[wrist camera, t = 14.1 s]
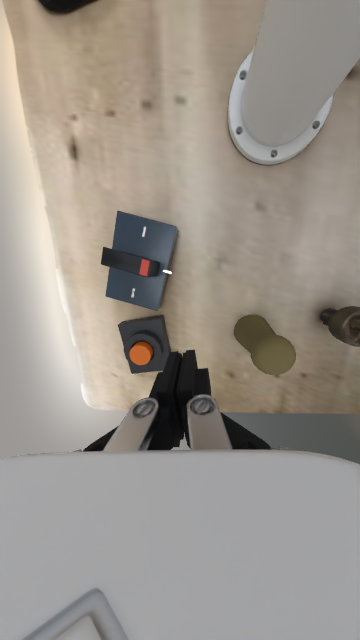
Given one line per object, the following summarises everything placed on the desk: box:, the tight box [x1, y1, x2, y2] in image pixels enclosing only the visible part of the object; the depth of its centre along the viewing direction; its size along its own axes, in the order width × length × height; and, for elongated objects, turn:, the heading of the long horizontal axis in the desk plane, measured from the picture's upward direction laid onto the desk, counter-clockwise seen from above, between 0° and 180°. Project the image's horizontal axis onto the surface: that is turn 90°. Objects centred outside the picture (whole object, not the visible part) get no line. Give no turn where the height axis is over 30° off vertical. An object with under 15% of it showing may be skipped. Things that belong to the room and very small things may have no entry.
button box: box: [118, 315, 171, 374], centre depth 32 cm, size 10×8×4 cm
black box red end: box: [101, 247, 160, 278], centre depth 25 cm, size 6×2×5 cm, turn 75°
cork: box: [234, 315, 296, 375], centre depth 26 cm, size 6×6×11 cm
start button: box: [130, 342, 153, 365], centre depth 30 cm, size 4×4×2 cm
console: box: [106, 211, 179, 311], centre depth 29 cm, size 13×11×3 cm
